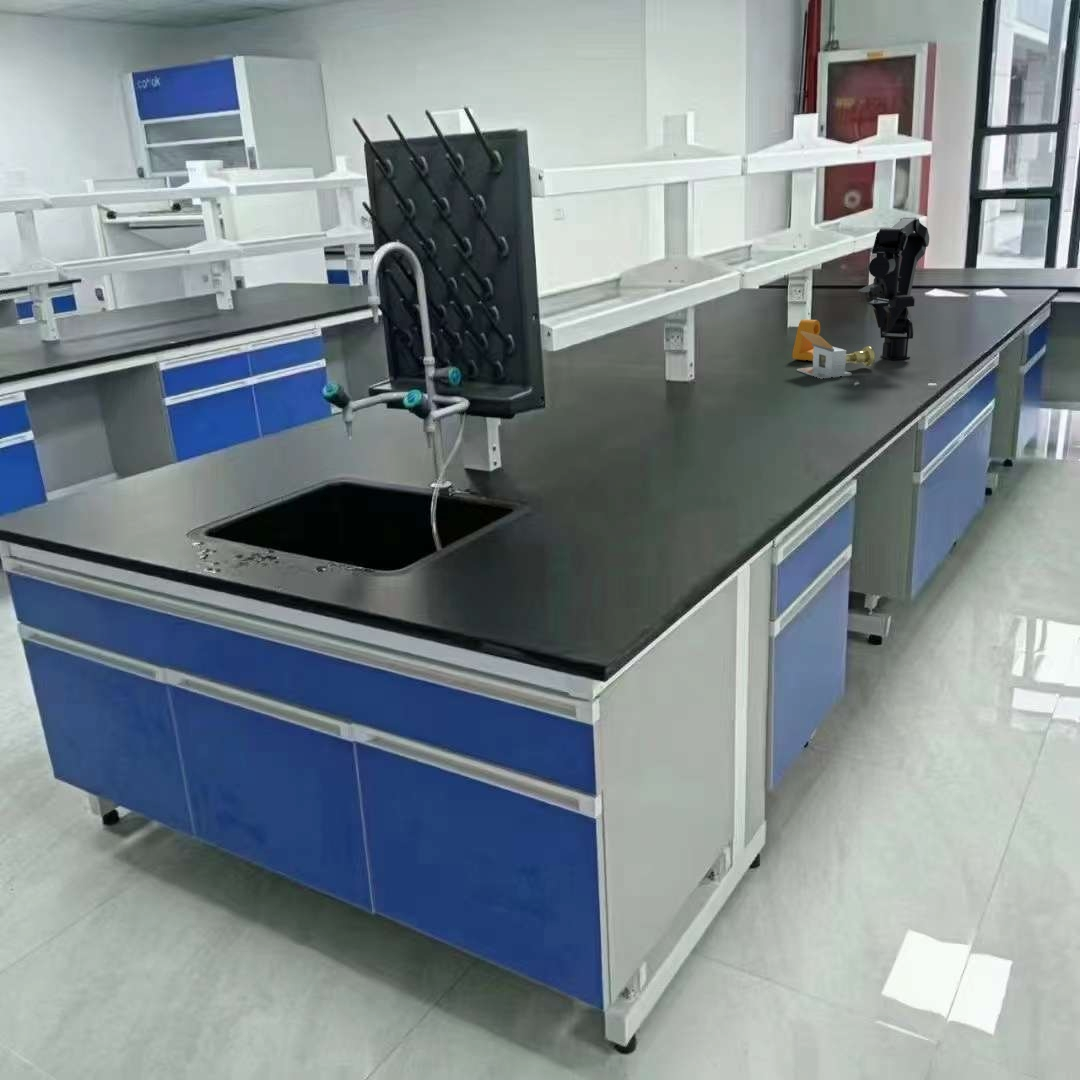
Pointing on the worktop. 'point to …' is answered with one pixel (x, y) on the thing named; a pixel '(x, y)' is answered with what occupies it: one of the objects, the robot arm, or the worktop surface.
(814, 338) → the tan flat plate
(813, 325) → the bracket
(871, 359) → the pin
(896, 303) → the robot arm
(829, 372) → the hitch block
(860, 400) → the worktop surface
